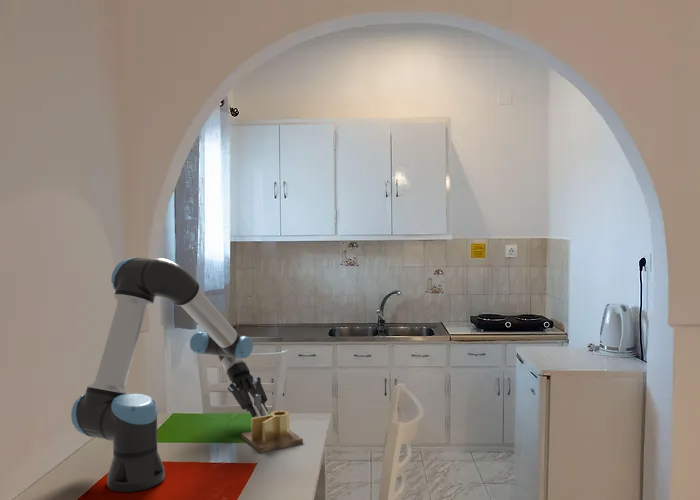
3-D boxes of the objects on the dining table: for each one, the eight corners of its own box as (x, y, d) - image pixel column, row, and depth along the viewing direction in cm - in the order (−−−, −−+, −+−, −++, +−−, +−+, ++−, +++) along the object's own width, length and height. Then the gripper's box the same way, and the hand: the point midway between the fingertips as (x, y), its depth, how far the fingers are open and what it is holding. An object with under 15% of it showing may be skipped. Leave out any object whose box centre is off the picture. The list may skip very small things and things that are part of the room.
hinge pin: (256, 430, 207) (255, 396, 207) (253, 428, 209) (252, 394, 209) (262, 429, 209) (262, 395, 208) (260, 427, 211) (259, 393, 210)
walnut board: (259, 452, 187) (259, 448, 187) (241, 437, 201) (241, 433, 201) (302, 443, 195) (302, 438, 194) (282, 429, 208) (282, 424, 208)
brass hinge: (259, 445, 189) (258, 423, 189) (248, 437, 196) (248, 416, 196) (295, 437, 195) (295, 416, 195) (284, 430, 203) (283, 409, 203)
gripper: (248, 369, 224) (277, 423, 214) (213, 377, 213) (242, 434, 203) (257, 357, 221) (286, 411, 210) (221, 364, 210) (251, 422, 199)
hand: (264, 422), depth 206 cm, fingers closed on hinge pin, 2 cm apart
